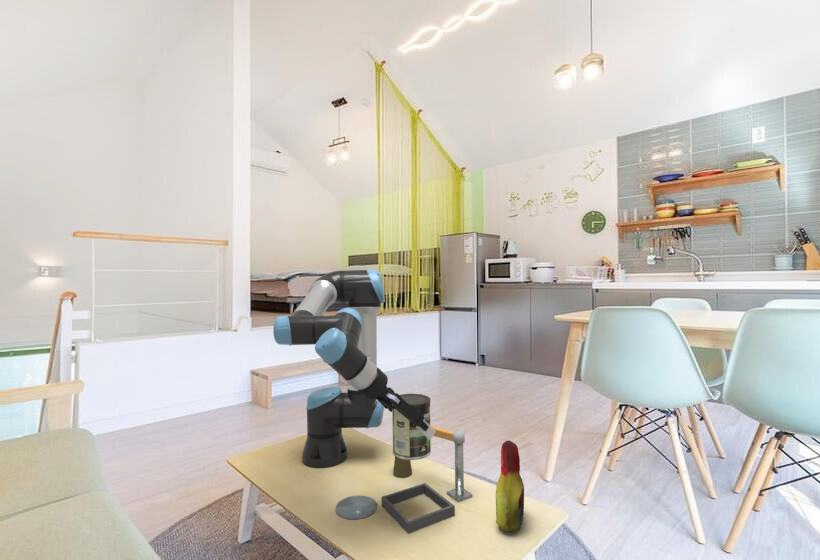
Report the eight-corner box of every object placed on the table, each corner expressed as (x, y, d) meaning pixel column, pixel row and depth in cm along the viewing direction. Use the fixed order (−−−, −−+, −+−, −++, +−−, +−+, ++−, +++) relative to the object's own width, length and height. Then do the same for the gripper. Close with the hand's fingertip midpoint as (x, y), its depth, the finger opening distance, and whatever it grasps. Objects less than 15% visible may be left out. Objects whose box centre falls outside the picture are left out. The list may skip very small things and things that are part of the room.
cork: (394, 478, 124) (393, 443, 124) (391, 469, 130) (391, 435, 130) (413, 477, 125) (413, 441, 125) (410, 468, 131) (410, 434, 131)
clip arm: (419, 428, 124) (419, 419, 124) (466, 441, 114) (466, 431, 114) (413, 431, 122) (413, 422, 122) (460, 444, 111) (460, 435, 111)
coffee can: (432, 445, 111) (432, 393, 111) (428, 461, 101) (428, 405, 101) (396, 443, 113) (395, 392, 113) (388, 459, 103) (387, 403, 103)
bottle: (506, 507, 107) (505, 432, 107) (530, 514, 104) (529, 436, 104) (490, 532, 97) (489, 448, 97) (517, 540, 94) (516, 454, 94)
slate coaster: (329, 503, 110) (329, 502, 110) (366, 492, 116) (366, 491, 116) (344, 524, 101) (344, 523, 101) (384, 511, 106) (384, 510, 106)
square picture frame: (381, 506, 109) (381, 496, 109) (425, 491, 116) (425, 482, 116) (408, 533, 97) (407, 523, 97) (454, 515, 104) (454, 505, 104)
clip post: (447, 494, 114) (446, 441, 114) (461, 489, 117) (460, 438, 117) (458, 502, 110) (457, 448, 110) (472, 497, 113) (471, 444, 113)
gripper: (399, 375, 92) (454, 429, 100) (357, 359, 111) (407, 406, 119) (378, 402, 89) (437, 456, 98) (339, 381, 108) (391, 427, 117)
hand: (420, 428), depth 108 cm, fingers closed on coffee can, 10 cm apart
